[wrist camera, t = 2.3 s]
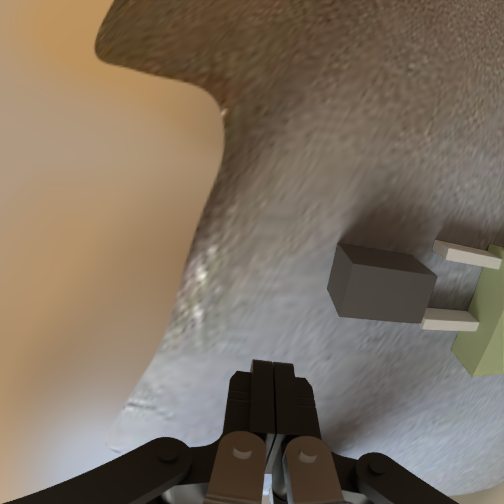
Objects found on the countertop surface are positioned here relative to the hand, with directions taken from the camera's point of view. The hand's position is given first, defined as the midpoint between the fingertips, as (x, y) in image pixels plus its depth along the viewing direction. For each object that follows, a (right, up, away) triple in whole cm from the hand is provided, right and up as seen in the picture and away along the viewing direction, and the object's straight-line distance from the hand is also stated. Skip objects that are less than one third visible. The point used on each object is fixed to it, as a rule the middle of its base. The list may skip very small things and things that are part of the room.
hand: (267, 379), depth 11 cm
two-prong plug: (+23, 0, +15) cm, 27 cm away
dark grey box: (+9, +3, +14) cm, 18 cm away
